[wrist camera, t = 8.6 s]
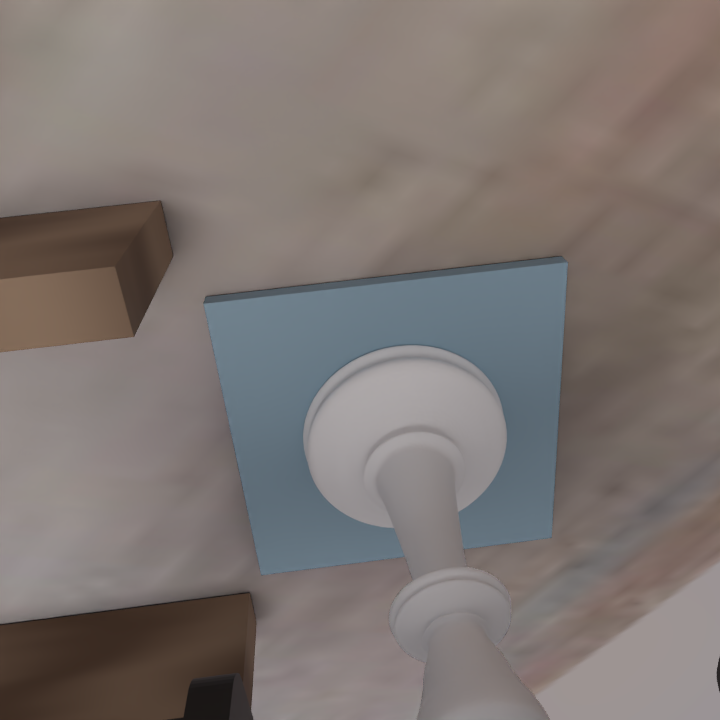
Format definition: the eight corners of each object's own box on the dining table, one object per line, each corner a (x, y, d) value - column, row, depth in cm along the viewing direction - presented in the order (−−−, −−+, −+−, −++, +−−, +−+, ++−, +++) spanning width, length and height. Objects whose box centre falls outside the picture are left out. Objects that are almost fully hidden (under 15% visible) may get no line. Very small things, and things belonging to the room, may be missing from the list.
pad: (561, 256, 15) (567, 262, 15) (546, 527, 19) (551, 537, 19) (205, 297, 15) (203, 303, 15) (261, 564, 19) (261, 575, 18)
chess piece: (539, 441, 17) (804, 908, 8) (384, 542, 18) (470, 1050, 9) (427, 302, 15) (618, 725, 6) (260, 426, 16) (219, 934, 7)
